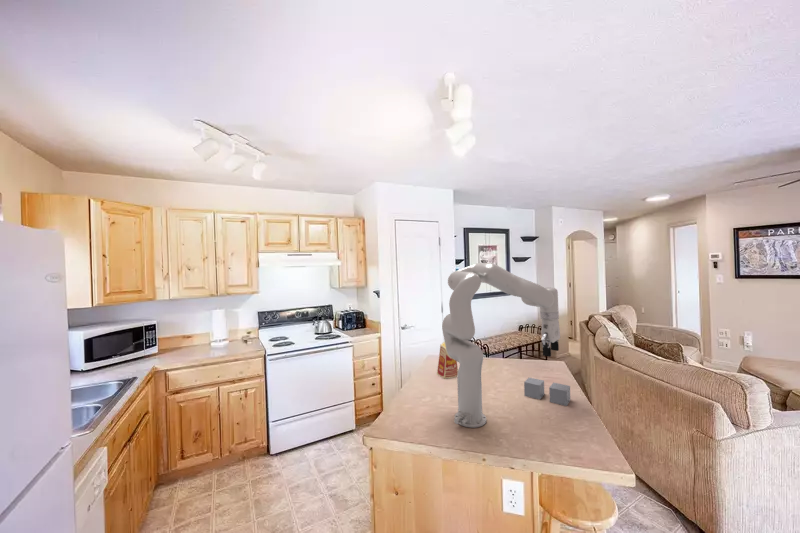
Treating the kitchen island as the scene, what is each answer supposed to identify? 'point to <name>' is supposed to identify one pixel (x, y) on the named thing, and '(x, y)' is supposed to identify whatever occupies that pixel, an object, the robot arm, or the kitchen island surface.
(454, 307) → the robot arm
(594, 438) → the kitchen island surface
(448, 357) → the milk carton
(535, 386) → the gray cube
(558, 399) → the grey block
